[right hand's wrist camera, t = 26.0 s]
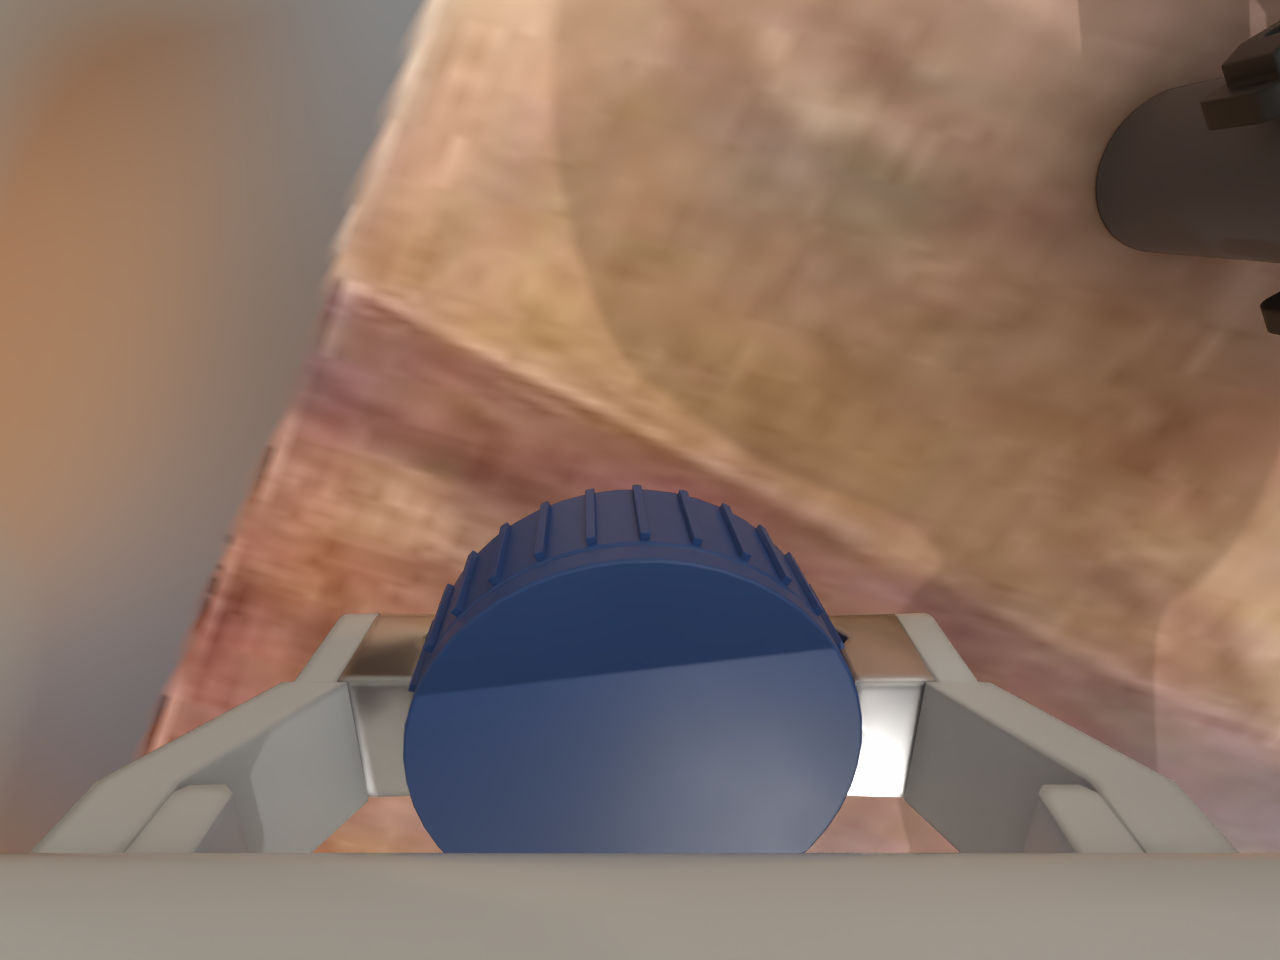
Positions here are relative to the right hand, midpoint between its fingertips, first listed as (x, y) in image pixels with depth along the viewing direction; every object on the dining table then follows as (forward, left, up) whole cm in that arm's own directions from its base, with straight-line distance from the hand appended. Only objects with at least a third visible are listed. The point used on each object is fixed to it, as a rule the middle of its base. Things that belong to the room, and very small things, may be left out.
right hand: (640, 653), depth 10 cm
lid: (0, 0, +2) cm, 2 cm away
